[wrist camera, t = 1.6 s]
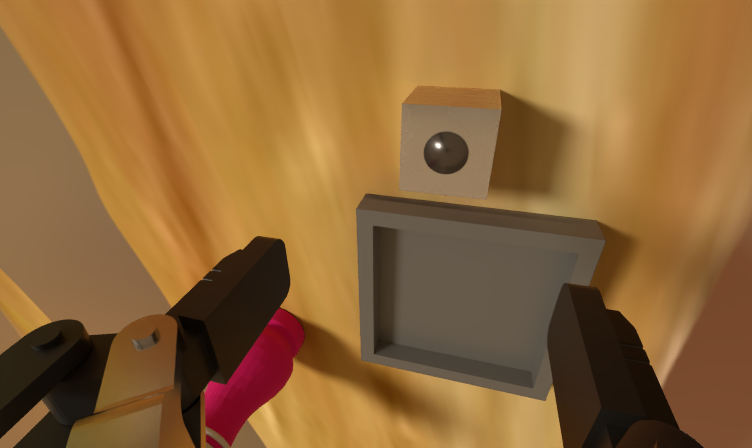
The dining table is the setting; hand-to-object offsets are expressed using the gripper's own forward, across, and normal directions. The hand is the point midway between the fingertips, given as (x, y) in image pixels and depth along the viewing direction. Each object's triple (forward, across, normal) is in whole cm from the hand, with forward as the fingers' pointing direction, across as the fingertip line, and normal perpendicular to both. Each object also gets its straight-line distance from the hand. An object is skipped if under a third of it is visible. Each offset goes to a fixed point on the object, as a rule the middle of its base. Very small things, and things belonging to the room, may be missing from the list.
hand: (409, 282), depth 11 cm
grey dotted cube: (+16, 0, 0) cm, 16 cm away
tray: (+16, -2, +14) cm, 21 cm away
